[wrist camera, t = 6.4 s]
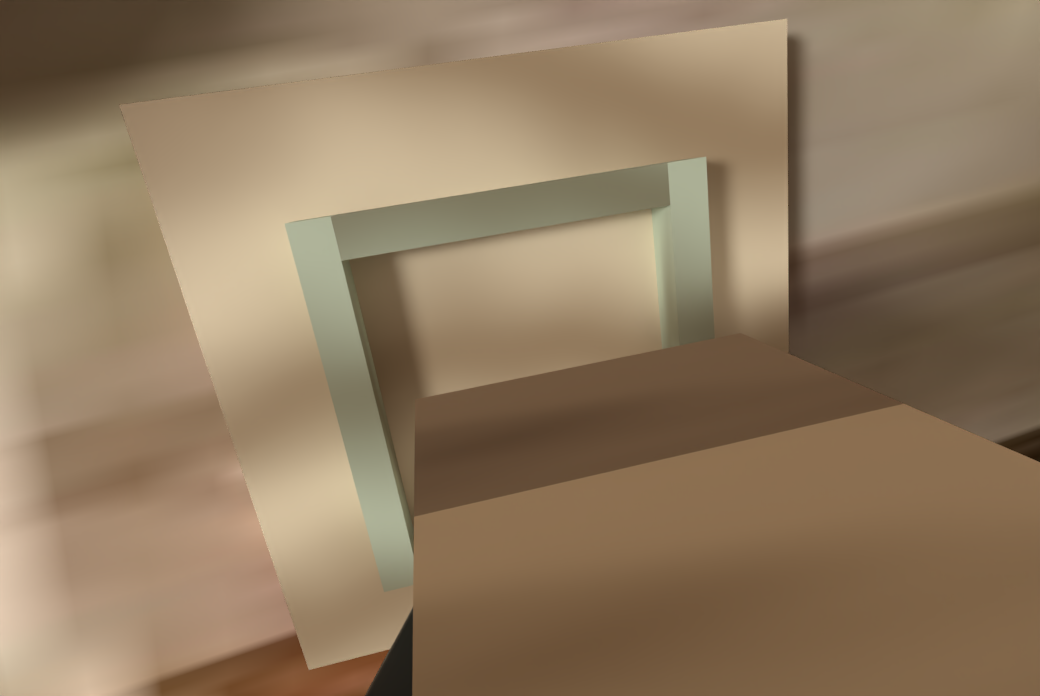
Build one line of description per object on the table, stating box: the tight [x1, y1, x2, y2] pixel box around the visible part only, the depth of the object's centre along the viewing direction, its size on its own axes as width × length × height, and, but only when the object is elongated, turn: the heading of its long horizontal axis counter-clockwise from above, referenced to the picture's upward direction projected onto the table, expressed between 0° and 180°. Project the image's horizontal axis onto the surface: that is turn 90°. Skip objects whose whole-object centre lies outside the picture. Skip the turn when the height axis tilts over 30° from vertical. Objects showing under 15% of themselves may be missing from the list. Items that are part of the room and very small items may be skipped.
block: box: [412, 333, 1040, 696], centre depth 6 cm, size 5×5×6 cm
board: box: [119, 19, 789, 670], centre depth 15 cm, size 16×16×2 cm
